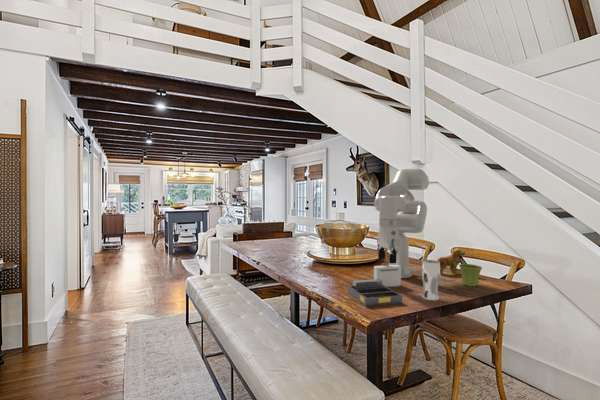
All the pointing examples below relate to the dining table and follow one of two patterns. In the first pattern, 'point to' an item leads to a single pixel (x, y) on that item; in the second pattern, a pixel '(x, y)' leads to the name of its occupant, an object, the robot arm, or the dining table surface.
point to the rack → (373, 293)
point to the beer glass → (430, 279)
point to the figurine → (451, 261)
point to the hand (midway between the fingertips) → (387, 261)
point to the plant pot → (470, 274)
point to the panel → (388, 275)
